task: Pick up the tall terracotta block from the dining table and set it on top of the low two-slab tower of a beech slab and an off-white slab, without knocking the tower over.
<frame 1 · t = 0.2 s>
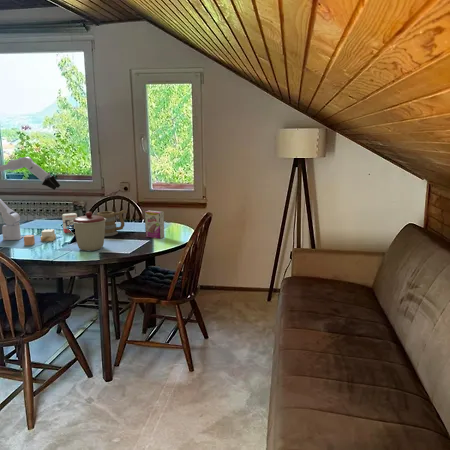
hand: (57, 187, 255), 31 cm above the table, tool tilted 45°, fingers open, 7 cm apart
ink box: (70, 231, 279), on the table
terracotta block: (29, 244, 246), on the table
off-white slab: (48, 235, 256), point 3 cm above the table, touching beech slab
tankard: (112, 233, 273), on the table
beech slab: (48, 240, 257), on the table, touching off-white slab
canister: (91, 249, 236), on the table
candy bar box: (155, 237, 262), on the table
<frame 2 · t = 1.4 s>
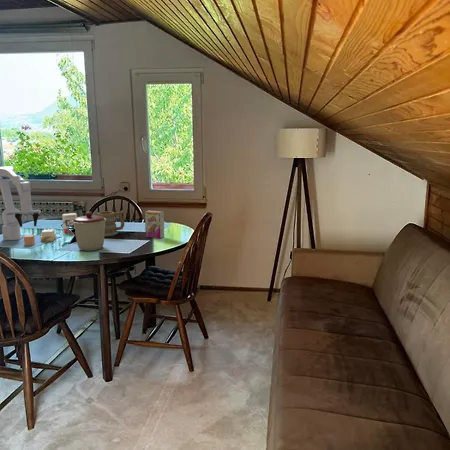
hand: (28, 226, 244), 11 cm above the table, tool pointing down, fingers open, 7 cm apart
nothing on the table moved.
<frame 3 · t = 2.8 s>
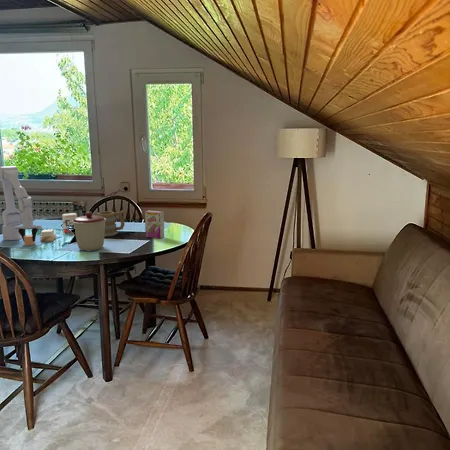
hand: (29, 241, 246), 2 cm above the table, tool pointing down, fingers closed on terracotta block, 4 cm apart
terracotta block: (29, 244, 246), on the table, touching gripper
off-white slab: (47, 235, 256), point 3 cm above the table
beech slab: (48, 240, 257), on the table
everything else where it was.
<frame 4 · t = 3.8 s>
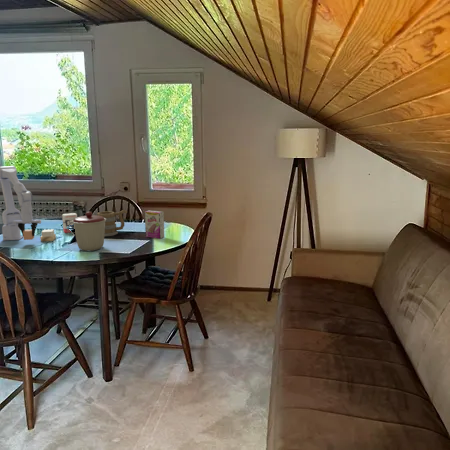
hand: (28, 235, 245), 5 cm above the table, tool pointing down, fingers closed on terracotta block, 4 cm apart
terracotta block: (29, 238, 245), point 3 cm above the table, touching gripper
off-white slab: (48, 235, 256), point 3 cm above the table, touching beech slab
beech slab: (48, 240, 257), on the table, touching off-white slab
everything else where it was.
when the fingers open (9 cm above the table, at t = 6.0 s): terracotta block drops 1 cm, resting on off-white slab.
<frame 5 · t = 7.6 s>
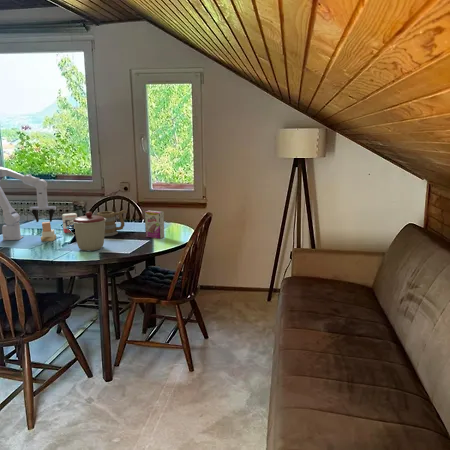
hand: (44, 221, 258), 10 cm above the table, tool pointing down, fingers open, 7 cm apart
terracotta block: (47, 230, 256), point 6 cm above the table, touching gripper, off-white slab
off-white slab: (48, 235, 256), point 2 cm above the table, touching beech slab, terracotta block
everything else where it was.
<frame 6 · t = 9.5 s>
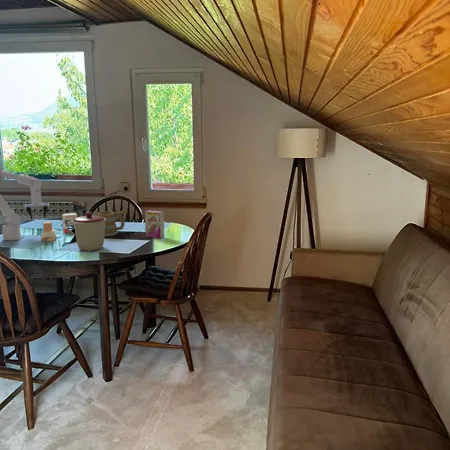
hand: (38, 218, 268), 10 cm above the table, tool pointing down, fingers open, 7 cm apart
terracotta block: (47, 230, 256), point 6 cm above the table
off-white slab: (49, 235, 256), point 3 cm above the table, touching beech slab
everything else where it was.
at the end: terracotta block 0.4 cm off-centre on the beech slab, point 6.0 cm above the beech slab's base; off-white slab 0.6 cm off-centre on the beech slab, point 3.0 cm above the beech slab's base; beech slab moved 0.7 cm from its start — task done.
